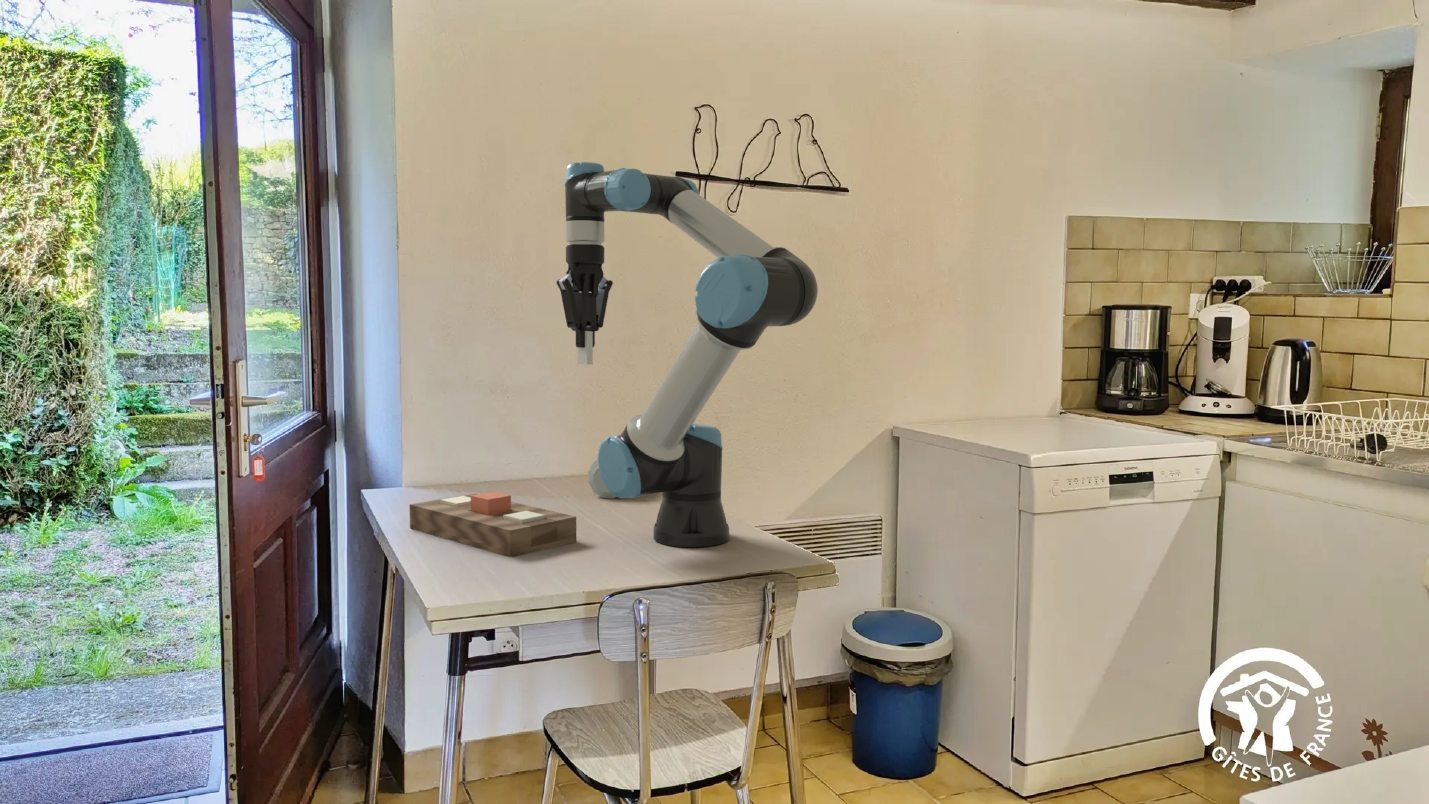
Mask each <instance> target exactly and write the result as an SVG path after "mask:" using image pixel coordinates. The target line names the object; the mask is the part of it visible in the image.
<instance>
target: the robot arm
mask: <svg viewBox="0 0 1429 804" xmlns="http://www.w3.org/2000/svg"><path fill="white" fill-rule="evenodd" d="M565 172H566V173H565V182H564V187H565V190H564V191H565V192H564V193H565V196H564V197H565V241H566V242H567V243H568V244H567V245H566V246H565V262H566V263H567V269H566V272H565V273H566V275H565V276H563V277H562V278H557V279H556V285H557V287H558V288H559V291H560V294H561V301H562V306H563V311H564V316H565V317H564V318H565V321H566V322H565V323H566V327H567V328H569V329H571V331H572V332H573V331H574V332H575V347H576V348H577V365H585V366H586V365H587V366H588V365H592V366H593V360H594V358H593V357H594V356H593V355H594V351H593V349H594V348H595V345H596V343H595V342H596V341H595V340H596V339H595V336H596V334H595V332H598V331H599V330H600V328H603V327H604V322H605V316H606V311H607V305H608V300H609V293H610V290H611V289H612V287H613V284H614V282H613V281H612V280H609V279H607V278H606V277H605V276H604V274H605V273H604V271H603V267H602V266H603V264H604V263H605V247H604V245H602V244H603V243H604V242H605V213H607V212H628V213H637V214H648V215H659V216H662V217H663V218H665V219H666V220H667V221H669V222H670V223H671V224H673V225H674V226H676V227H677V228H678V229H679V230H681V231H682V232H683V233H685V234H686V236H687V235H688V236H689V237H690V238H691V239H693V240H694V241H696V242H697V243H698V244H699V245H701V246H702V247H703V248H704V249H706V250H707V251H708V252H710V253H711V254H712V255H714V256H715V257H716V259H714V260H712V262H710V263H709V264H707V266H706V267H705V268H703V270H702V271H701V274H700V275H699V277H698V279H697V282H696V285H695V291H696V293H697V295H695V297H694V302H695V308H696V310H695V318H696V321H697V324H696V326H695V328H694V330H693V331H692V332H691V334H690V336H689V338H688V340H687V342H686V343H685V344H684V346H683V348H682V349H681V351H680V353H679V354H678V356H677V358H676V359H675V361H674V362H673V364H672V366H671V367H670V369H669V371H668V373H667V374H666V376H665V377H664V379H663V381H662V383H661V384H660V386H659V387H658V389H657V390H656V392H655V394H654V395H653V397H652V399H651V400H650V402H649V404H648V405H647V407H646V409H645V411H644V412H643V413H642V414H641V413H640V414H637V415H634V416H632V417H631V418H630V420H629V421H628V422H627V424H626V426H625V427H624V428H623V430H622V432H621V434H619V435H618V436H617V435H610V437H607V438H605V439H603V441H602V442H601V443H600V445H599V448H598V451H597V460H598V467H599V473H600V476H601V479H602V481H603V483H604V485H605V487H606V488H607V489H608V491H609V492H610V493H612V494H613V495H614V496H616V497H615V498H620V499H629V498H630V499H631V498H632V499H636V498H638V497H643V496H649V495H654V494H660V493H662V502H661V504H660V507H659V510H658V513H657V517H656V522H655V523H654V525H653V540H654V541H655V542H657V543H659V544H663V545H666V546H672V547H683V548H701V547H703V548H704V547H713V546H718V545H721V544H725V543H727V542H728V541H730V527H729V524H728V522H727V519H726V514H725V510H724V506H723V504H722V470H723V469H722V466H723V465H722V464H723V445H722V433H721V430H719V429H718V428H717V427H716V426H713V425H707V424H705V425H704V424H697V423H695V421H696V419H697V418H698V417H699V414H700V413H701V412H702V410H703V408H705V406H706V404H707V403H708V401H709V400H710V397H711V396H712V395H713V393H715V391H716V389H717V387H718V386H719V384H720V382H721V381H722V380H723V378H724V376H725V374H726V373H727V372H728V370H729V369H730V367H731V365H732V364H733V362H734V361H735V360H736V358H737V356H738V355H739V353H740V352H741V350H749V349H752V348H753V347H755V345H756V343H757V342H758V341H759V339H760V338H761V336H762V334H763V332H765V330H766V329H767V328H768V327H786V326H792V325H794V324H797V323H799V322H801V321H802V320H804V318H806V317H807V316H808V315H809V314H810V313H811V312H812V310H813V308H814V307H815V305H816V301H817V297H818V289H819V288H818V282H817V279H816V276H815V274H814V272H813V270H812V269H811V267H810V266H809V265H808V264H807V263H806V262H805V261H804V260H802V259H801V258H800V257H798V256H796V254H794V253H792V252H791V251H790V250H789V249H787V248H785V247H784V246H783V247H782V246H776V247H774V246H772V245H771V244H770V243H769V242H767V241H765V240H764V239H762V238H761V237H760V236H758V235H757V234H755V233H754V232H752V231H751V230H750V229H749V228H747V227H745V225H742V224H741V223H739V222H738V220H735V219H734V218H733V217H731V216H730V215H728V214H727V213H725V212H724V211H722V210H721V209H720V208H718V207H717V206H716V205H715V204H713V203H711V202H710V201H709V200H707V199H705V198H704V197H703V196H702V195H700V191H699V189H698V187H697V185H696V183H695V182H693V181H692V180H690V179H687V178H683V177H680V176H670V175H662V174H660V175H659V174H651V173H644V172H643V171H641V170H640V169H637V168H625V167H622V168H618V169H615V170H614V169H613V170H607V171H605V168H604V165H603V164H601V163H598V162H585V161H584V162H583V161H582V162H572V163H570V164H568V165H567V166H566V170H565Z"/></svg>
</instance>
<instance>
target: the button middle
mask: <svg viewBox="0 0 1429 804" xmlns="http://www.w3.org/2000/svg"><path fill="white" fill-rule="evenodd" d="M477 494H478V495H472V496H471V511H472V512H476V513H480V514H484V515H492V514H497V513H503V512H508V511H511V502H512V495H510V494H505V493H500V492H497V491H491V492H485V493H477Z"/></svg>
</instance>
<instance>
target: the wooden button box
mask: <svg viewBox="0 0 1429 804" xmlns="http://www.w3.org/2000/svg"><path fill="white" fill-rule="evenodd" d="M478 494H479V493H469V494H464V495H462V496H466V497H470V498H471V496H472V495H478ZM460 496H461V495H458V496H456V497H460ZM454 497H455V496H452V497H451V496H450V498H454ZM448 498H449V497H446V498H444V499H448ZM442 499H443V498H440V499H433V500H427V501H422V502H416V503H412V504H409V529H410V530H415V531H418V532H421V533H425V534H428V535H431V536H435V537H439V538H443V539H445V540H448V541H453V542H455V543H460V544H463V545H466V546H470V547H473V548H477V549H481V550H485V551H487V552H491V553H494V554H498V555H501V556H505V557H508V558H513V557H517V556H521V555H525V554H529V553H535V552H538V551H542V550H547V549H551V548H552V549H553V548H555V547H559V546H563V545H569V544H573V543H577V516H574V515H571V514H567V513H566V514H565V513H562V512H556V511H552V510H548V509H545V508H540V507H535V506H531V505H528V504H527V505H526V504H522V503H518V502H514V501H511V511H508V512H503V513H497V514H492V515H484V514H480V513H476V512H472V511H471V505H467V506H462V507H452V506H448V505H444V504H441V502H440V500H442ZM522 511H530V512H534V513H539V514H543V515H545V519H542V520H538V521H533V522H528V523H523V524H520V523H516V522H512V521H508V520H504V519H503V515H507V514H512V513H517V512H522Z"/></svg>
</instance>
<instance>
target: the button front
mask: <svg viewBox="0 0 1429 804" xmlns="http://www.w3.org/2000/svg"><path fill="white" fill-rule="evenodd" d="M503 519H504V520H508V521H512V522H516V523H520V524H523V523H528V522H533V521H538V520H542V519H545V515H543V514H539V513H534V512H530V511H522V512H517V513H512V514H507V515H503Z"/></svg>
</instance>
